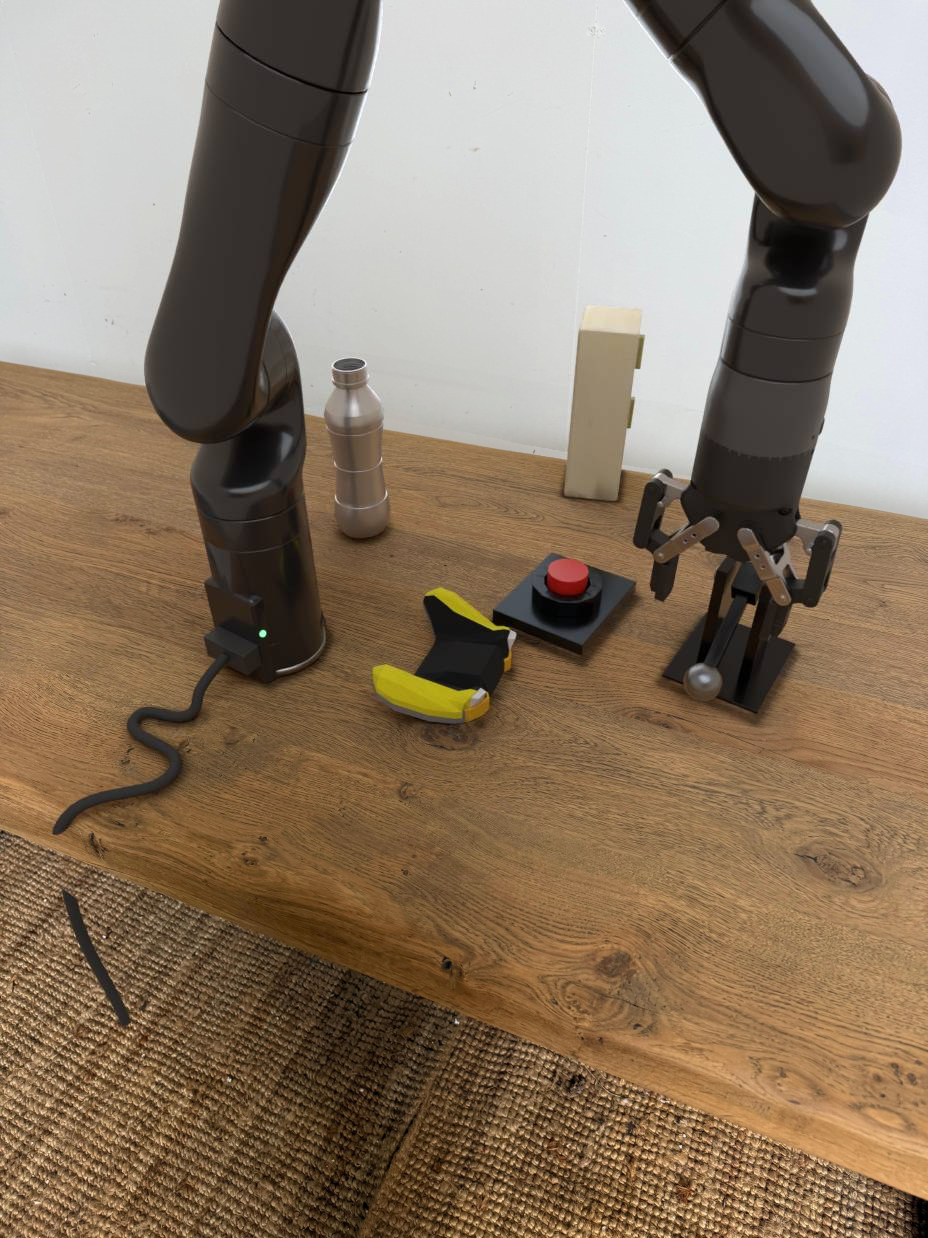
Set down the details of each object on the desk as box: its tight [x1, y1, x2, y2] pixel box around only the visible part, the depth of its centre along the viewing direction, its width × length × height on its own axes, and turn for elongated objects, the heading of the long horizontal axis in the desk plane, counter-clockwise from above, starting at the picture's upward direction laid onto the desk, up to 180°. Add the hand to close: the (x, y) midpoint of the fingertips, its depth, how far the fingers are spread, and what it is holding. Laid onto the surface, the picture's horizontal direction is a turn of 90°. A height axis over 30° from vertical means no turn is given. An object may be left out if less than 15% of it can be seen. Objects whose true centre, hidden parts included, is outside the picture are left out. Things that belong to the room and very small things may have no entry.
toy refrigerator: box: [563, 304, 646, 502], centre depth 102 cm, size 8×7×21 cm
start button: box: [547, 558, 589, 595], centre depth 86 cm, size 4×4×2 cm
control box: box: [492, 551, 637, 657], centre depth 87 cm, size 12×10×4 cm
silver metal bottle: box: [323, 357, 392, 539], centre depth 95 cm, size 6×7×20 cm
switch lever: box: [683, 561, 765, 702], centre depth 74 cm, size 13×3×3 cm, turn 147°
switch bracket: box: [661, 555, 797, 715], centre depth 78 cm, size 11×9×12 cm
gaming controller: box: [371, 586, 517, 725], centre depth 79 cm, size 15×6×10 cm
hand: (713, 614), depth 68 cm, fingers open, 8 cm apart
